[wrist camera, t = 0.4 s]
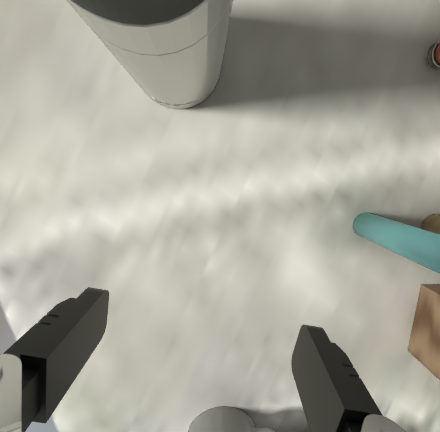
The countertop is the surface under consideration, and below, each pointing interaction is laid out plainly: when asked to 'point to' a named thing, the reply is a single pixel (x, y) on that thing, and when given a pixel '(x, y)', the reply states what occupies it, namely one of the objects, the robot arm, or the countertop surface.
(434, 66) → the lighter
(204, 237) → the countertop surface
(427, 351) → the walnut block
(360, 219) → the teal pin
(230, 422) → the coffee mug
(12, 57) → the countertop surface
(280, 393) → the countertop surface
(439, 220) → the beech pin
